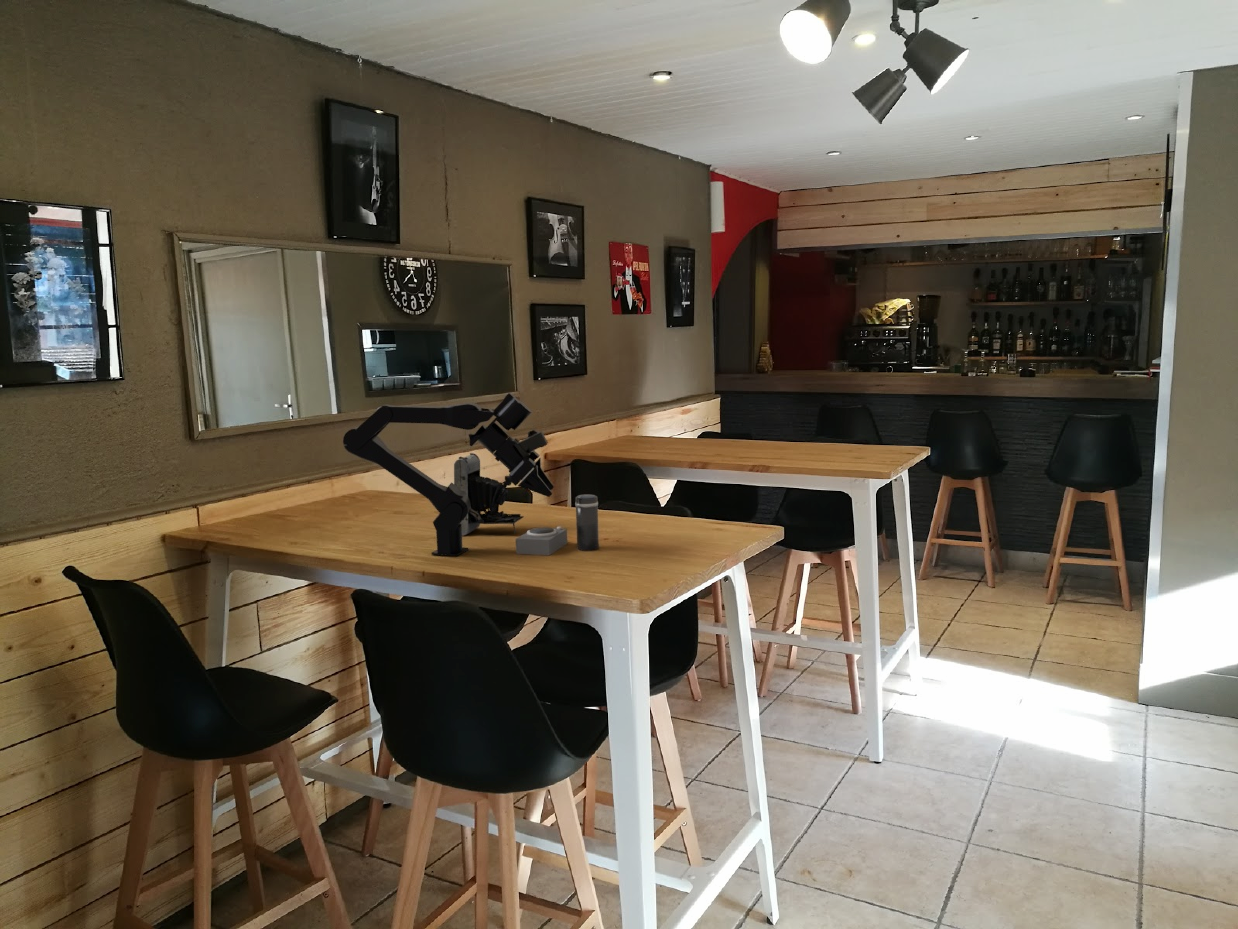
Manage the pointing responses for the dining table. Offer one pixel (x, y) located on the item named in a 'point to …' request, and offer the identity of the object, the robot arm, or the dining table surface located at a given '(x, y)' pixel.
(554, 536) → the grey rectangular block
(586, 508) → the dark grey cylinder
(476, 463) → the vintage camera
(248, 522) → the dining table surface
